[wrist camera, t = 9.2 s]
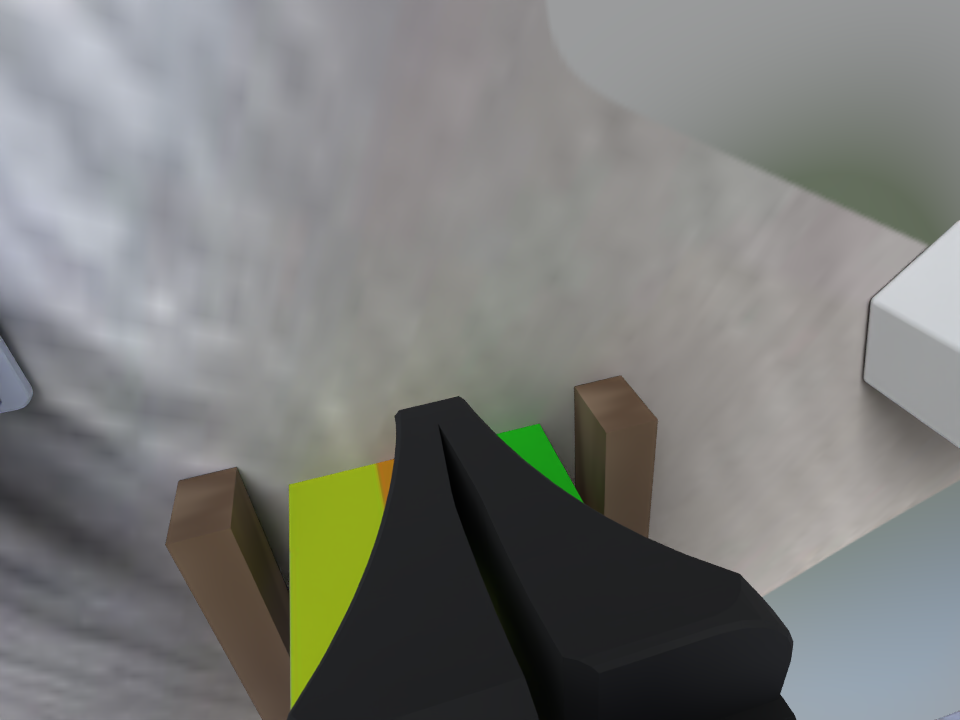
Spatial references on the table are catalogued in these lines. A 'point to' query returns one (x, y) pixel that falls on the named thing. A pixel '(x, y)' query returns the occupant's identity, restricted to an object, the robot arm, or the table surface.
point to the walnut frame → (260, 586)
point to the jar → (920, 337)
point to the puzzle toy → (356, 544)
